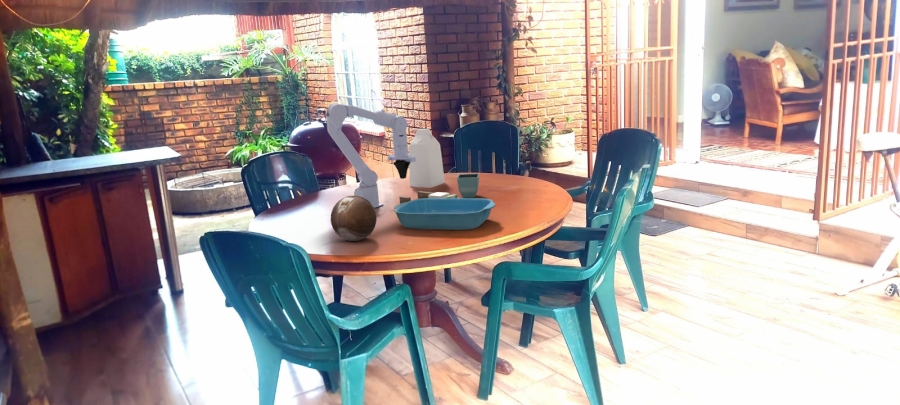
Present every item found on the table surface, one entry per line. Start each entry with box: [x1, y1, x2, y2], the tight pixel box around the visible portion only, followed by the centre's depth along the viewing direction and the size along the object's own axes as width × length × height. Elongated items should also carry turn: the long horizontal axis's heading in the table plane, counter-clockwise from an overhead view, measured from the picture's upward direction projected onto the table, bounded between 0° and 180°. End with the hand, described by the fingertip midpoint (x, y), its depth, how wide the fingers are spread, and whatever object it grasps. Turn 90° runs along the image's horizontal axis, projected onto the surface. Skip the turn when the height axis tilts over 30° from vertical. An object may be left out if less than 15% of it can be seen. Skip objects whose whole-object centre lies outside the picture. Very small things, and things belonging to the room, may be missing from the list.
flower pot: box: [456, 173, 480, 198], centre depth 264 cm, size 9×9×9 cm
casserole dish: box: [393, 197, 496, 231], centre depth 224 cm, size 37×22×7 cm, turn 70°
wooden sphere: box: [330, 195, 378, 242], centre depth 209 cm, size 15×15×15 cm
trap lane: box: [398, 190, 461, 204], centre depth 258 cm, size 24×21×4 cm
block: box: [428, 191, 450, 198], centre depth 254 cm, size 6×6×4 cm
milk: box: [408, 128, 446, 188], centre depth 295 cm, size 12×12×26 cm
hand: (403, 178), depth 262 cm, fingers closed
